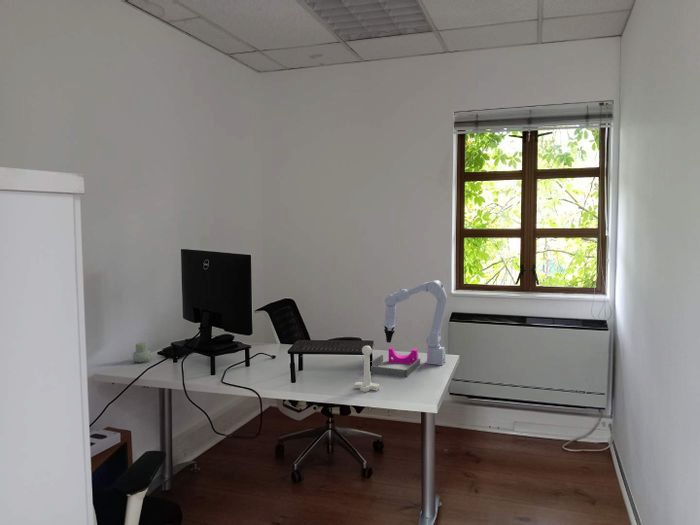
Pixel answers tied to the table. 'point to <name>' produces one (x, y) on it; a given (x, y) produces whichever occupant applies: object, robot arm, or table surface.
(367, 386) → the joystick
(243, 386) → the table surface
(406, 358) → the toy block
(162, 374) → the table surface
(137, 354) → the air freshener
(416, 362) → the grey tray
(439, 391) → the table surface
